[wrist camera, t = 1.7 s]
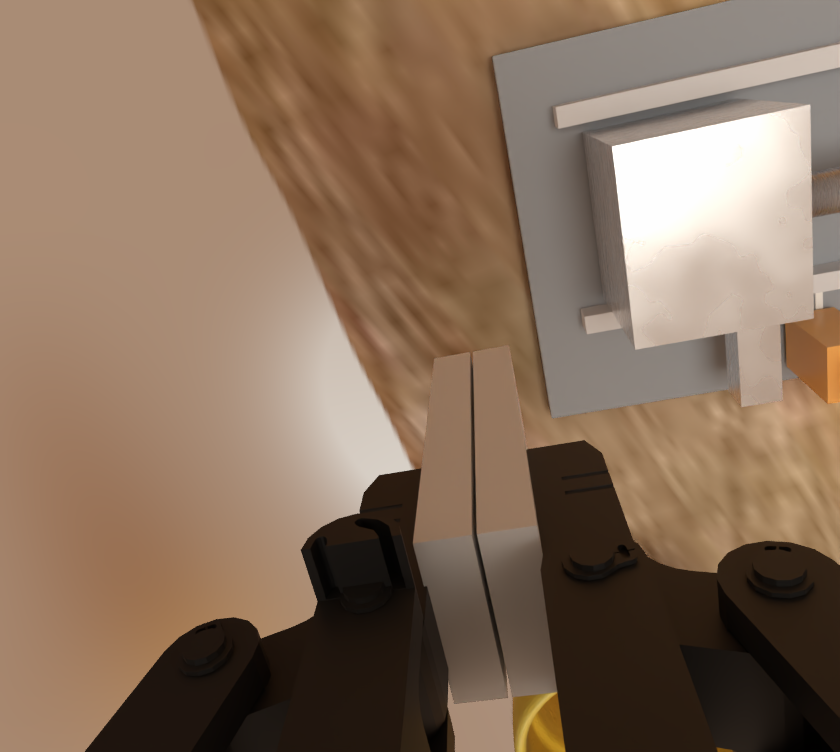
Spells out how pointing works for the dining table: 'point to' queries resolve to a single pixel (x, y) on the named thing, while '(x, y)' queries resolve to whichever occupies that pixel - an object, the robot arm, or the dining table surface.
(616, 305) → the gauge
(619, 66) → the grey slider board
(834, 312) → the orange t-shaped stamp
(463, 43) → the dining table surface
